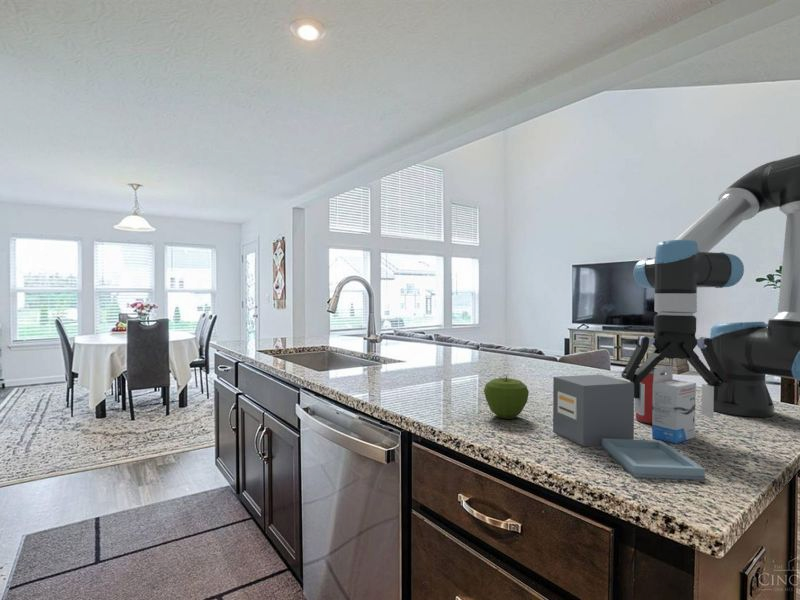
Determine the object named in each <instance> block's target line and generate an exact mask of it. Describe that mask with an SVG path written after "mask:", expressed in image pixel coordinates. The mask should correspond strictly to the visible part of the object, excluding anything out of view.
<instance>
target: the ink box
mask: <svg viewBox="0 0 800 600" xmlns="http://www.w3.org/2000/svg"><path fill="white" fill-rule="evenodd" d="M653 370H654V377H653V412H652V424H651V425H652V426H651V427H652V428H651V429H652V430H651V432H652V433H651V437H652V439H655V440H661V441H663V442H667V443H671V444H675V445H677V444H680V443H682V442H686V441H688V440H691V439H693V438H695V437H696V435H695V434H696V432H695V431H696V398H697V397H696V395H697V392H696V391H697V383H696V382H693V381H688V380H681V379H674V378H673V376H674V375H673V374H674V366H673V365H667V366H660V367H654V368H653ZM661 372H665V375H660V373H661Z"/></svg>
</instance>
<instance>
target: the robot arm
mask: <svg viewBox="0 0 800 600" xmlns="http://www.w3.org/2000/svg"><path fill="white" fill-rule="evenodd" d="M717 199H718V200H717V202H716V203H715V204H714V205H713V206H711V207H710V208H709V209H708V210H707V211H706V212H704V214H702V215H701V216H700V217H698V219H697V220H696V221H694V222H693V223H692V224H691V225H690V226H689V227H688V228H686V229H685V230H684V231H683V232H682V233H681V234H679V235H678V236H677V237H676V238H675V239H672V240H671V239H669V240H663V241H660V242H659V243H658V244H656V246H655V255H654V257H647V258H644V259H641V260H639V261H638V262H636V264H635V266H634V267H633V279H634V280H635V283H636V284H637V285H638V286H639V287H641V288H643V289H653V290H654V304H653V305H654V307H653V308H654V312H656V313H657V314H655V316H653V331H654V335H653V337H648V336H644V335H639V336H638V337H637V344H636V347H635V349H634V351H633V352H632V354H631V356H630V357H629V360H628V361H627V364H626V365H625V367H624V369H623V371H622V372H621V378H623V379H625V380H626V381H628V382H632V383H634V413H635V414H636V413H637V414H639V415H644V398H645V384H643V383H640V382H641V381H642V380H643V379H644V378H645V377H646V376H647V375H648V374H649V373H650V372H651V370H654V369H655V368H656V367H657V365H659V364H660V362H661V361H663V360H664V359H669V360H671V359H672V360H673V359H679V360H686V361H687V362H688V363H689V364H690V365H691V366H692V367H693V368H694V370H695V371H696V372H697V373H698V374H699V376H701V378H702V379H703V380H704V381H705V383H702V384H701V416H704V417H707V418H709V419H714V412H718V413H723V414H727V415H728V414H729V415H734V416H741V417H742V416H743V417H757V418H758V417H759V418H763V417H764V418H767V417H772V416H774V415H775V405H774V402H773V399H772V396H771V394H770V392H769V389H768V387H767V384H766V375H767V376H774V377H779V378H786V379H792V380H796V381H800V154H796V155H792V156H788V157H786V158H782V159H778V160H772V161H770V162H766V163H764V164H762V165H760V166H758V167H756V168H754V169H752V170H750V171H749V172H747V173H746V174H744V175H743V176H742V177H740V178H739V179H737V180H736V181H734V182H733V183H732V184H731V185H730V186H728V187H727V188H726V189H725V190H724V191H722V192H721V194H719V196H718V198H717ZM778 207H779V209H778V210H779V211H780V212H781V213H783V214H784V215H785V216H786V219H785V220H786V221H785V222H786V223H785V230H784V231H785V233H784V243H783V251H782V253H783V254H782V263H781V273H780V274H781V275H780V283H779V295H778V303H777V304H778V305H777V312H776V314H774V315H773V316H771V317H770V318H768V319H767V320H768V323H767V325H766V322H765V321H744V322H743V321H742V322H726V323H716V324H714V325H712V326H711V328H710V335H709V337H703V336H702V337H699V338H697V337H696V333H697V317H696V316H695V315H694V314H696V313H697V308H698V305H697V304H698V302H697V301H698V300H697V299H698V298H697V297H698V296H697V295H698V294H697V293H698V292H697V291H698V288H716V289H723V288H730V287H733V286H735V285H736V284H738V283H739V282H740V281H741V280H742V278H743V276H744V274H745V266H744V263H743V261H742V260H741V258H739V257H738V256H737V255H735V254H732V253H726V252H723V251H721V252H712V251H711V250H712V249H713V248H715V246H717V245H718V244H719V243H720V242H721V241H722V240H723V239H725V238H726V237H727V235H729V234H730V233H732V231H733V230H734V229H735V228H737V226H739V225H740V224H742V223H743V222H744V221H748V220H751V219H752V218H754V217H755V216H756V215H757V214H758V213H761V212H763V211H767V210H770V209H774V208H778ZM710 251H711V252H710ZM652 345H653V346H654V349H653V350H652V352H651V353H650V355H649V356H648V358H647V359H646V360H645V361H644V362H643V363H642V361H643V359H644V357H645V355H646V353H647V352H648V349H649V348H650V347H651V346H652ZM696 347H697V348H699V350H700V352H701V353H702V356H703V358H704V360H705V362H706V363H707V366H708V367H707V366H706V365H705V364H704V362H702V360H701V359H700V357H699V355H698V354H697V353H696V352H695V350H694V349H695V348H696ZM641 363H642V364H641ZM640 364H641V365H640Z"/></svg>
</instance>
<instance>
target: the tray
mask: <svg viewBox="0 0 800 600" xmlns="http://www.w3.org/2000/svg"><path fill="white" fill-rule="evenodd" d="M601 448H602V450H604V451H605V452H606V453H607V454H608V455H609V456H610V457H611V458H613V459H614V461H615V462H616V463H618V464H619V465H620V466H621V467H622V468H623V469H624V470H625V471H626V472H628V473H629V474H630V475H631V476H632V477H633V478H643V479H644V478H647V479H648V478H649V479H651V478H653V479H668V480H669V479H674V480H697V481H705V480H706V479H705V478H706V468H704V467H703V466H701V465H700V464H698V463H696V462H695V461H693V460H692V459H691V458H689V457H687V455H686V456H685V455H684V454H683V453H681V452H680V451H678V450H676V449H675V448H673V447H672V446H670V445H669V444H667V443H666V442H665V441H663V440H659V439H635V438H634V439H604V438H602V445H601Z"/></svg>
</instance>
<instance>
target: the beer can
mask: <svg viewBox="0 0 800 600" xmlns="http://www.w3.org/2000/svg"><path fill="white" fill-rule="evenodd" d="M660 375H666V372H664V371H663V372H661V373H660ZM653 377H654V369H652V370H651V372H650V373H649V374H648V375H647V376H646V377H645V378H644V379H643V380H642V381H641V382H640V383H643V384H645V398H644V415H639V414H637V413H636V412H635V419H636V420H637V421H639V422H641V423H643V424H647V425H652V412H653Z"/></svg>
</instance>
